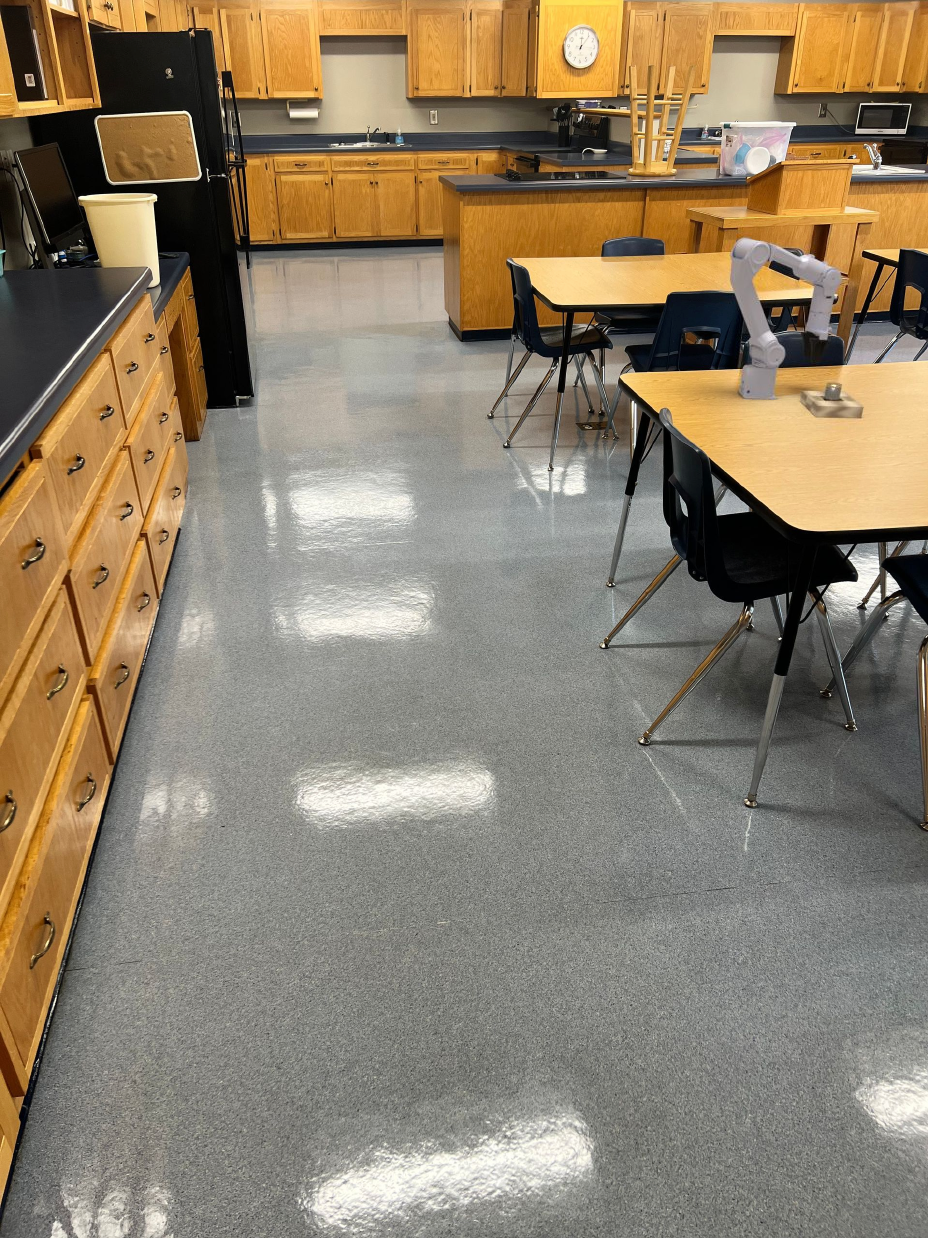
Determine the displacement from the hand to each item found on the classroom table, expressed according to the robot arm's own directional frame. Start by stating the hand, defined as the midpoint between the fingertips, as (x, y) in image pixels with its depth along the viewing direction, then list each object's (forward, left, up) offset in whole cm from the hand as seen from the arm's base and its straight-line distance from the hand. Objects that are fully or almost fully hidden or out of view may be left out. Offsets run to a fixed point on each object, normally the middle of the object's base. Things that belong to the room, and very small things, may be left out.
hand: (811, 360), depth 260 cm
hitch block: (+2, -18, -9) cm, 20 cm away
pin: (+2, -18, -9) cm, 20 cm away
